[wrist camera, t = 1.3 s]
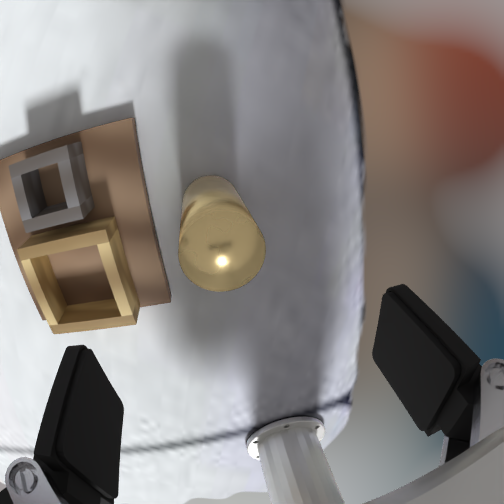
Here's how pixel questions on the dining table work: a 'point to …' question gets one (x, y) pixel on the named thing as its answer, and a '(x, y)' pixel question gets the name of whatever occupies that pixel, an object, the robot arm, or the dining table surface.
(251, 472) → the dining table surface
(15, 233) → the board
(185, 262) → the beige cylinder
